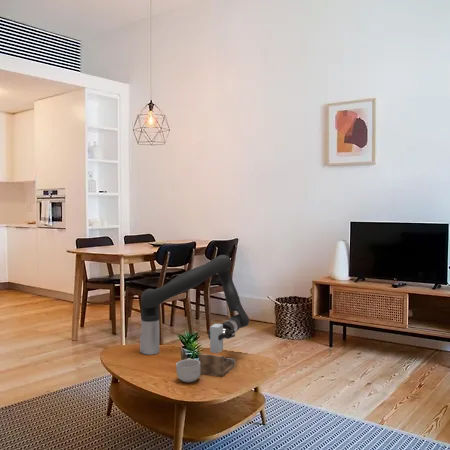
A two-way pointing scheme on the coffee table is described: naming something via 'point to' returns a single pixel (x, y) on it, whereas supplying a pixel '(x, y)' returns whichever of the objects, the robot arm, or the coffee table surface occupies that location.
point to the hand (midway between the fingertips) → (214, 337)
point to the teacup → (188, 370)
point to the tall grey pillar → (216, 338)
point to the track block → (215, 364)
